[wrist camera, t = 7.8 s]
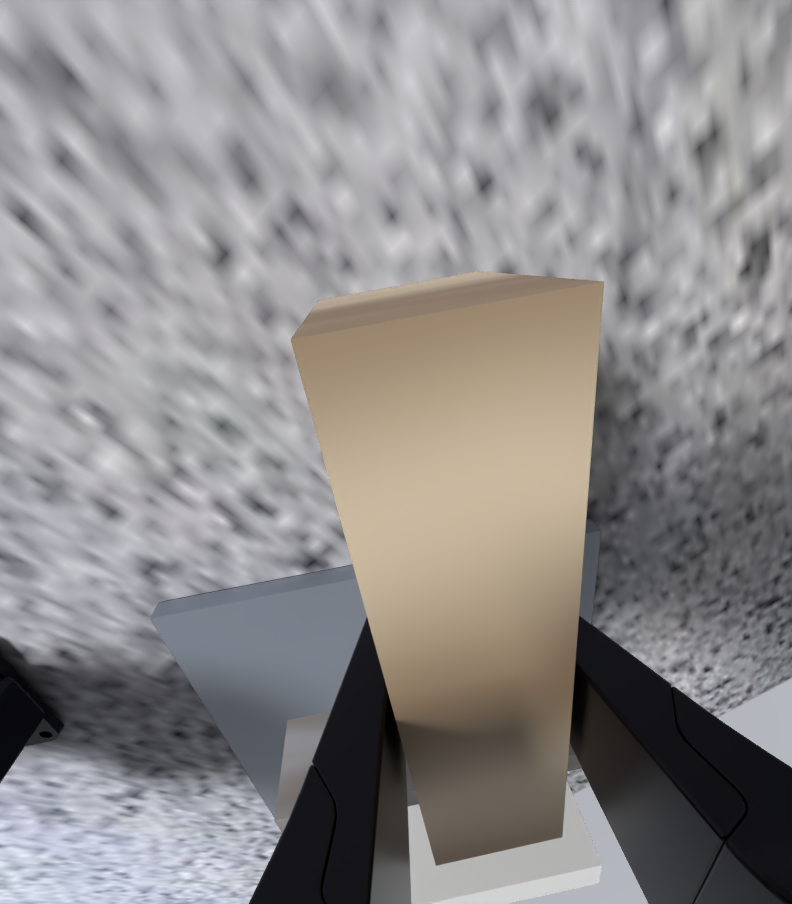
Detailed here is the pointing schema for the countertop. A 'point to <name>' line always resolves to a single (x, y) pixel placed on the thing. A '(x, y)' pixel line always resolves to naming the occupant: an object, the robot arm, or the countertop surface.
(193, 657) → the slate board
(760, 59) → the countertop surface
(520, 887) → the tile
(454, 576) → the block
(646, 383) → the countertop surface
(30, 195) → the countertop surface
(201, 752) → the countertop surface
